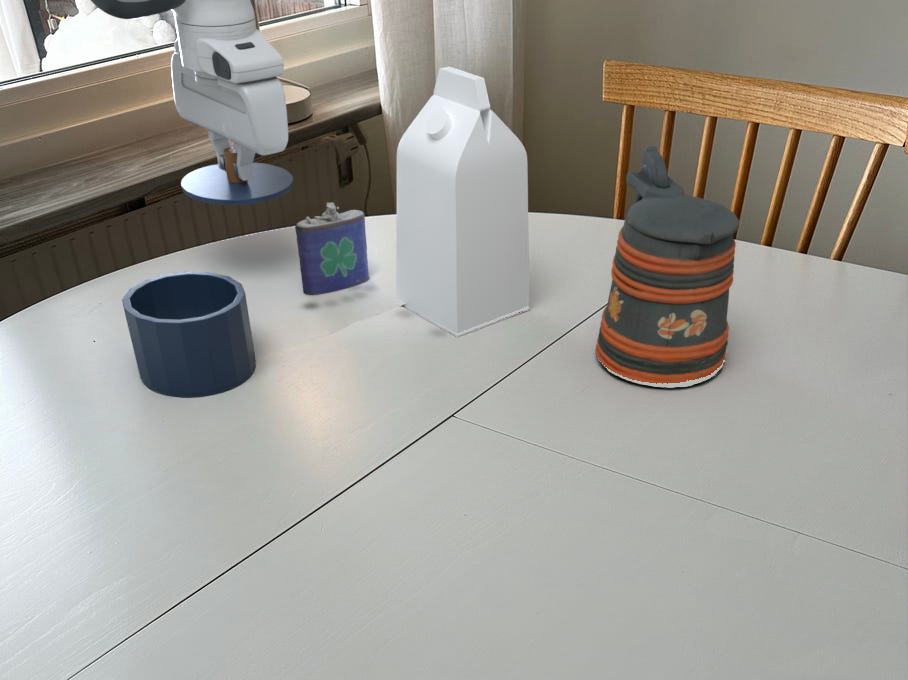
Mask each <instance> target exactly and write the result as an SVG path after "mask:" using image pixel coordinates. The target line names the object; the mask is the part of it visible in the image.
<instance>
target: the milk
mask: <svg viewBox="0 0 908 680" xmlns="http://www.w3.org/2000/svg"><path fill="white" fill-rule="evenodd" d="M488 94H489V93H488V89H487V85H486V81H485V77H482V76H480V75H476V74H473V73H470V72H467V71H465V70H462V69H459V68H456V67H452V66H445V67H440V68H439V70H438V73H437V78H436V82H435V85H434V88H433V95H431V96H430V98H429V99H428V100H427V101H426V103H425V104H424V106H423V107H422V108H421V110H420V112H418V114H417V115H416V117H415V118H414V119H413V121H412V122H411V123H410V125H409V126H408V128H407V129H406V130H405V131H404V133H403V134H402V136H401V138H400V140H399V142H398V145H397V149H396V261H395V262H396V263H395V264H396V265H395V266H396V269H395V270H396V272H395V273H396V275H395V277H396V280H395V281H396V287H395V289H396V292H395V293H396V294H395V295H396V297H395V298H396V300H397V301H399V302H401V303H403V304H402V305H401V307H403V308H405V309H406V310H408V311H410V312H412V313H414V314H415V315H417V316H419V317H420V318H422V319H424V320H426V321H428V322H430V323H431V324H433V325H435V326H437V327H439V328H440V329H442V330H444V331H446V332H447V333H449V334H451V335H453V336H454V337H457V338H459V337H462V336H464V335H467V334H470V333H472V332H475V331H477V330H480V329H483V328H485V327H488V326H490V325H493V324H496V323H500V322H501V321H504V320H506V319H509V318H512V317H514V316H517V315H520V314H523V313H525V312H528V311H530V308H529V309H528V310H525V311H523V312H520V313H517V314H515V315H512V316H509V317H507V318H504V319H501V320H499V321H496V322H493V323H490V324H488V325H485V326H482V327H480V328H477V329H474V330H472V331H469V332H466V333H464V334H461V335H458V336H457V335H455V334H453V333H451V332H449V331H448V330H446V329H444V328H442V327H441V326H439V325H437V324H435V323H433V322H432V321H430V320H433V321H435V322H437V323H438V324H440V325H442V326H445V327H446V328H448V329H450V330H451V331H454V332H455V333H460V332H463V331H464V330H468V329H470V328H472V327H475V326H478V325H480V324H483V323H485V322H489V321H491V320H494V319H496V318H498V317H501V316H503V315H506V314H509V313H512V312H514V311H517V310H520V309H522V308H524V307H526V306H529V307H530V257H529V256H530V251H529V250H530V249H529V248H530V247H529V246H530V245H529V243H530V242H529V184H528V183H529V182H528V181H529V179H528V178H529V177H528V176H529V175H528V174H529V173H528V172H529V171H528V154H527V151H526V148H525V146H524V145H523V142H522V141H521V140H520V139H519V138H518V137H517V135H516V134H515V133H514V132H513V131H512V130H511V129H510V128H509V127H508V126H507V124H506V123H504V121H503V120H502V119H501V118H500V117H499V116H498V114H496V113H495V112H494V111H493V110H492V109H491V103H490V99H489V95H488ZM410 309H411V310H410ZM412 310H413V311H412ZM414 311H415V312H414ZM416 312H417V313H419V314H420V315H419V314H417V313H416ZM421 315H423V316H424V317H423V316H421ZM425 317H427V318H429V319H430V320H428V319H426V318H425Z"/></svg>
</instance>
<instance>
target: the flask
mask: <svg viewBox="0 0 908 680" xmlns="http://www.w3.org/2000/svg"><path fill="white" fill-rule="evenodd" d="M336 206H337V205H335V202H333V201H332V202H326V210H325V211H324V212H323V213H322V214H321V216H319V215H317V216H316V215H315V216H314V218H310V216H306V217H305V219H303V220H300V221H298V222H297V223H296V224H295V226H294V229H295V235H296V243H297V251H298V259H299V270H300V276H301V284H302V292H303V294H304V295H306V296H320V295H326V294H330V293H335V292H340V291H343V290H346V289H350V288H354V287H356V286H358V285H363V284H364V283H366V282H368V281H369V280H370V273H369V262H368V260H369V259H368V245H367V244H368V243H367V234H366V233H367V232H366V217H365V215H366V214H365V213H364V212H363V211H362V210H358V209H349V210H347V211H344V212H340V213H339V212H338V211H337V210H339V209H340V206H337V207H336Z"/></svg>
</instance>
